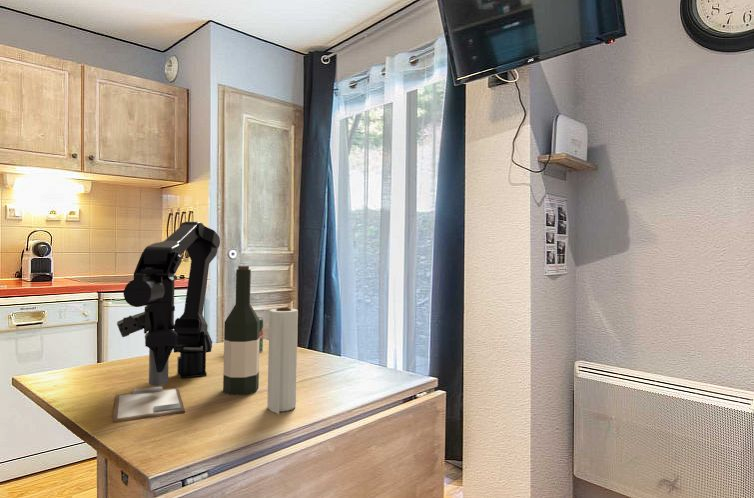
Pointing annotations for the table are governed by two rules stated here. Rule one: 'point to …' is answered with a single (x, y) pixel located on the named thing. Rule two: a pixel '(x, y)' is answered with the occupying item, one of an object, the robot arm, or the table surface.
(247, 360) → the wine bottle
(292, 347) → the paper towel roll
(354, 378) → the table surface
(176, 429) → the table surface
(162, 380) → the water bottle
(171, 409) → the clipboard
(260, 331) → the canned tomato
